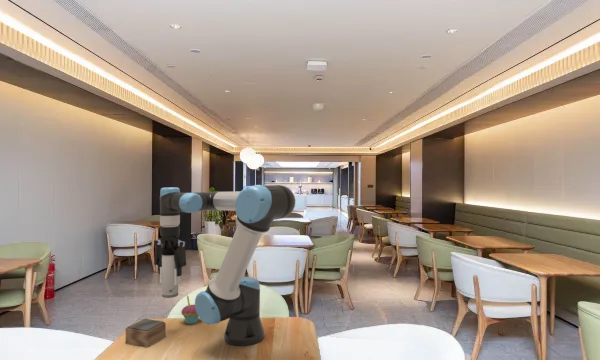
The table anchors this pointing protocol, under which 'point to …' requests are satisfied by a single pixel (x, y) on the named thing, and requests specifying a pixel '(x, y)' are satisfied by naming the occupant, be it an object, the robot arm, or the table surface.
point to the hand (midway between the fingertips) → (170, 283)
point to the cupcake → (190, 313)
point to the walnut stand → (145, 332)
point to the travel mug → (168, 273)
